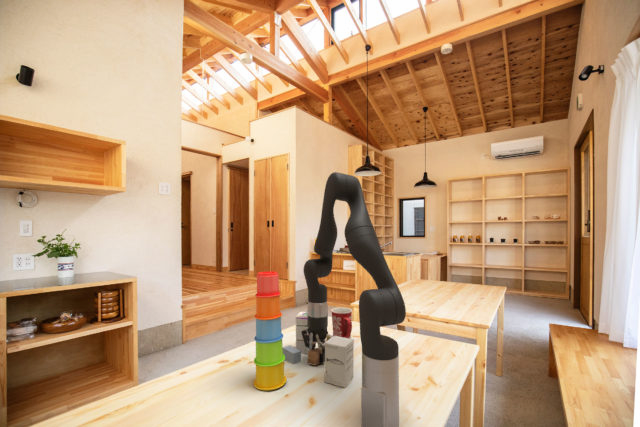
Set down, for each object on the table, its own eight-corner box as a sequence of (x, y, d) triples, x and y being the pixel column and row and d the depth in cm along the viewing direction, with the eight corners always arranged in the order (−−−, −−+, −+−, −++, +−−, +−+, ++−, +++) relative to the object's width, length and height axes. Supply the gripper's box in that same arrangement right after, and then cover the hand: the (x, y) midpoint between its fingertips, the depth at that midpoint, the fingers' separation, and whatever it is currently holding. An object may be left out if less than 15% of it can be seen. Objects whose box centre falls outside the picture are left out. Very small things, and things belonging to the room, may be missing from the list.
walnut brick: (315, 365, 102) (316, 353, 103) (307, 362, 104) (308, 350, 105) (326, 360, 108) (327, 349, 109) (318, 357, 110) (319, 346, 111)
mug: (328, 339, 128) (328, 308, 128) (347, 336, 131) (347, 306, 131) (339, 351, 116) (339, 316, 116) (359, 348, 119) (359, 314, 119)
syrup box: (310, 354, 113) (310, 316, 113) (295, 353, 114) (295, 315, 115) (313, 348, 118) (313, 312, 119) (299, 347, 120) (299, 311, 120)
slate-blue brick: (301, 361, 107) (301, 350, 107) (293, 365, 105) (293, 353, 105) (289, 355, 112) (289, 345, 112) (282, 358, 110) (282, 347, 110)
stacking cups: (254, 394, 86) (255, 275, 88) (252, 376, 96) (254, 270, 97) (289, 389, 89) (289, 274, 90) (284, 372, 99) (284, 269, 100)
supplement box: (323, 382, 92) (323, 342, 93) (333, 372, 99) (333, 334, 100) (345, 389, 89) (345, 346, 90) (354, 377, 96) (354, 338, 96)
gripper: (296, 312, 108) (295, 360, 107) (327, 319, 100) (327, 371, 99) (308, 308, 114) (308, 352, 114) (339, 314, 106) (339, 362, 105)
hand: (317, 361), depth 106 cm, fingers closed on walnut brick, 3 cm apart
